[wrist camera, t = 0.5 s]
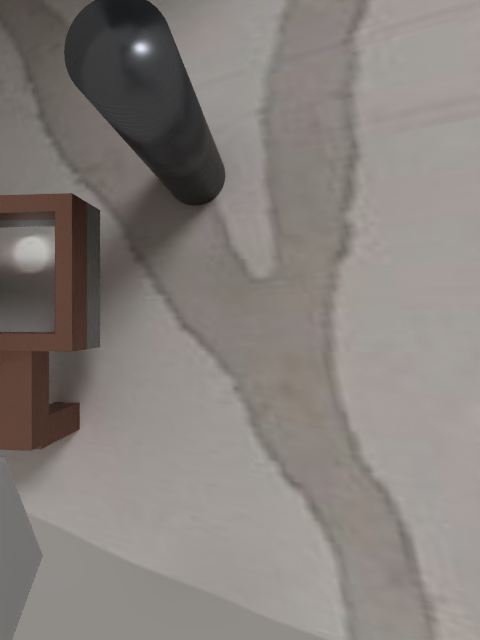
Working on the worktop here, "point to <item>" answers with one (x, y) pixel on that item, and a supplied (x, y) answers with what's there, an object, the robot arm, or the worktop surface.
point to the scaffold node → (70, 320)
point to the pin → (145, 93)
